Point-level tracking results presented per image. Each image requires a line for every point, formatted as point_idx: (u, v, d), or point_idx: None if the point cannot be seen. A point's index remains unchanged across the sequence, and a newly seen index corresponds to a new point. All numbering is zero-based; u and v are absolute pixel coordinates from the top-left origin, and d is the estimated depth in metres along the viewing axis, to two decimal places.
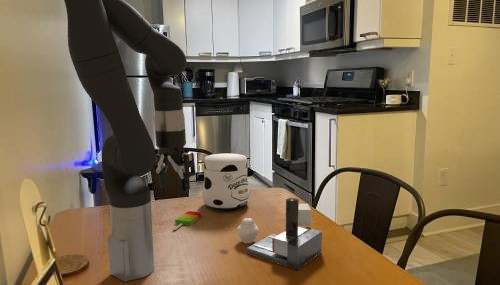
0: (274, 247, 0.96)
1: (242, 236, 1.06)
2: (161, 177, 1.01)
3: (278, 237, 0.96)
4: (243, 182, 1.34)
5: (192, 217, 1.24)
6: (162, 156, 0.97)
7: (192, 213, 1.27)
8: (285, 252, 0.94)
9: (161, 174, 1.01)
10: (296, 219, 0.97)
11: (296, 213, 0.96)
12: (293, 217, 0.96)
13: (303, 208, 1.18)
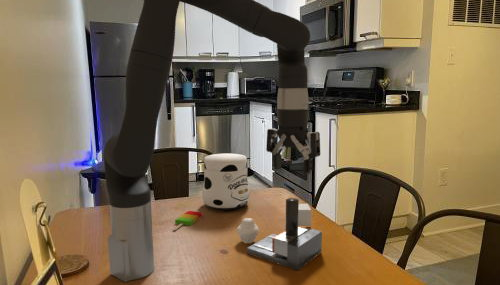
0: (274, 247, 0.96)
1: (242, 236, 1.06)
2: (277, 159, 0.98)
3: (278, 237, 0.96)
4: (243, 182, 1.34)
5: (192, 217, 1.24)
6: (283, 136, 0.94)
7: (192, 213, 1.27)
8: (285, 252, 0.94)
9: (277, 156, 0.97)
10: (296, 219, 0.97)
11: (296, 213, 0.96)
12: (293, 217, 0.96)
13: (303, 208, 1.18)
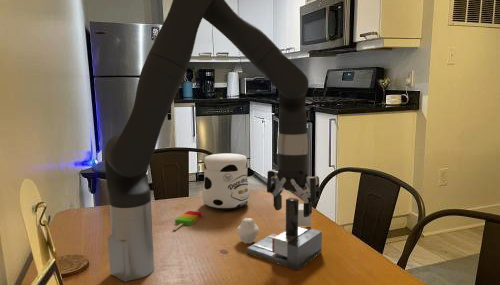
0: (274, 247, 0.96)
1: (242, 236, 1.06)
2: (277, 200, 0.99)
3: (278, 237, 0.96)
4: (243, 182, 1.34)
5: (192, 217, 1.24)
6: (283, 179, 0.96)
7: (192, 213, 1.27)
8: (285, 252, 0.94)
9: (277, 197, 0.99)
10: (296, 219, 0.97)
11: (296, 213, 0.96)
12: (293, 217, 0.96)
13: (303, 208, 1.18)
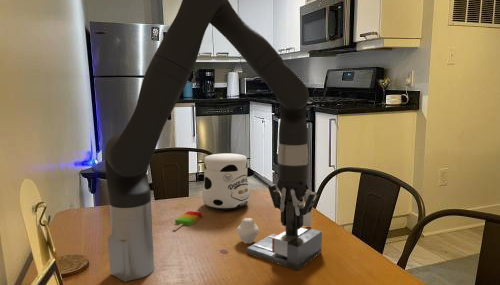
0: (274, 247, 0.96)
1: (242, 236, 1.06)
2: (285, 216, 0.98)
3: (278, 237, 0.96)
4: (243, 182, 1.34)
5: (192, 217, 1.24)
6: (283, 189, 0.96)
7: (192, 213, 1.27)
8: (285, 252, 0.94)
9: (285, 212, 0.98)
10: None
11: None
12: (292, 217, 0.96)
13: None
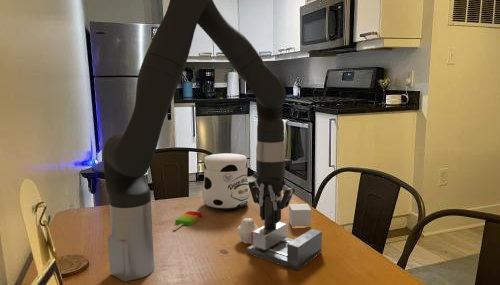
0: (253, 240, 1.00)
1: (242, 236, 1.06)
2: None
3: (257, 231, 1.00)
4: (243, 182, 1.34)
5: (192, 217, 1.24)
6: (262, 185, 1.00)
7: (192, 213, 1.27)
8: (263, 245, 0.98)
9: None
10: None
11: None
12: (271, 212, 1.00)
13: (303, 208, 1.18)
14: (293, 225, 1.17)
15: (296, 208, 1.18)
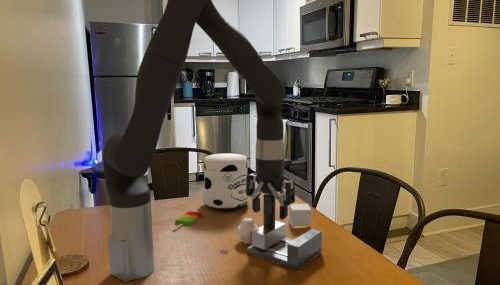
0: (252, 240, 1.00)
1: (242, 236, 1.06)
2: (256, 203, 1.04)
3: (256, 230, 1.00)
4: (243, 182, 1.34)
5: (192, 217, 1.24)
6: (261, 183, 1.00)
7: (192, 213, 1.27)
8: (262, 245, 0.99)
9: (256, 200, 1.04)
10: (273, 213, 1.01)
11: (273, 207, 1.01)
12: (270, 212, 1.00)
13: (303, 208, 1.18)
14: (293, 225, 1.17)
15: (296, 208, 1.18)
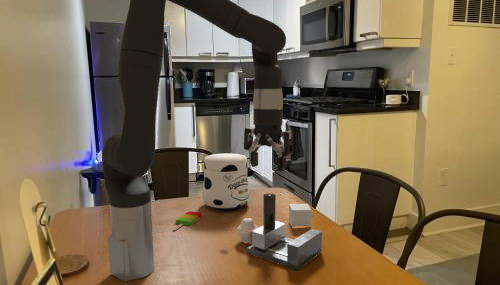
0: (252, 240, 1.00)
1: (242, 236, 1.06)
2: (254, 157, 1.02)
3: (256, 230, 1.00)
4: (243, 182, 1.34)
5: (192, 217, 1.24)
6: (259, 135, 0.98)
7: (192, 213, 1.27)
8: (262, 245, 0.99)
9: (254, 154, 1.02)
10: (273, 213, 1.01)
11: (273, 207, 1.01)
12: (270, 212, 1.00)
13: (303, 208, 1.18)
14: (293, 225, 1.17)
15: (296, 208, 1.18)
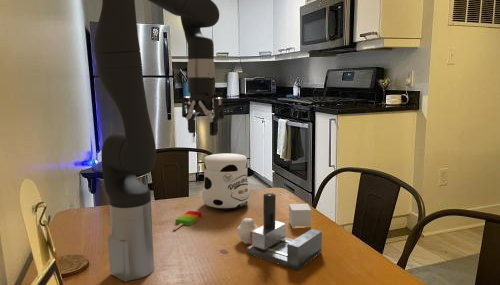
0: (252, 240, 1.00)
1: (242, 236, 1.06)
2: (191, 123, 1.10)
3: (256, 230, 1.00)
4: (243, 182, 1.34)
5: (192, 217, 1.24)
6: (193, 102, 1.06)
7: (192, 213, 1.27)
8: (262, 245, 0.99)
9: (191, 121, 1.10)
10: (273, 213, 1.01)
11: (273, 207, 1.01)
12: (270, 212, 1.00)
13: (303, 208, 1.18)
14: (293, 225, 1.17)
15: (296, 208, 1.18)
